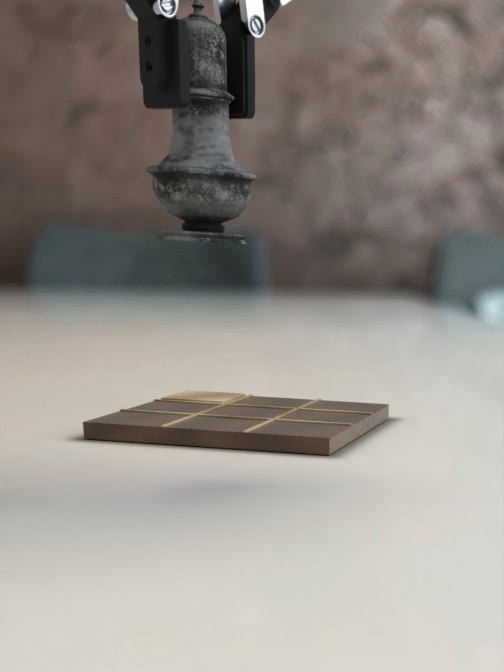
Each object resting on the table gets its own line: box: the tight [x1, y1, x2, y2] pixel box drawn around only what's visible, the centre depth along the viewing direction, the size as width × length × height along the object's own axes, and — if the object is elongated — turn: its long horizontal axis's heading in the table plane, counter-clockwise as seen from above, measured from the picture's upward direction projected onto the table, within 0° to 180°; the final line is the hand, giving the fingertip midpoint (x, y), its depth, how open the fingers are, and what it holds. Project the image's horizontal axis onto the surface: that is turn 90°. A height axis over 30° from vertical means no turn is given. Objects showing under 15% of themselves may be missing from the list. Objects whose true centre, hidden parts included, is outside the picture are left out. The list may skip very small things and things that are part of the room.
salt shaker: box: [145, 0, 258, 245], centre depth 60 cm, size 6×6×12 cm
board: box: [82, 389, 390, 456], centre depth 85 cm, size 18×18×1 cm
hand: (200, 109), depth 59 cm, fingers closed on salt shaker, 3 cm apart
